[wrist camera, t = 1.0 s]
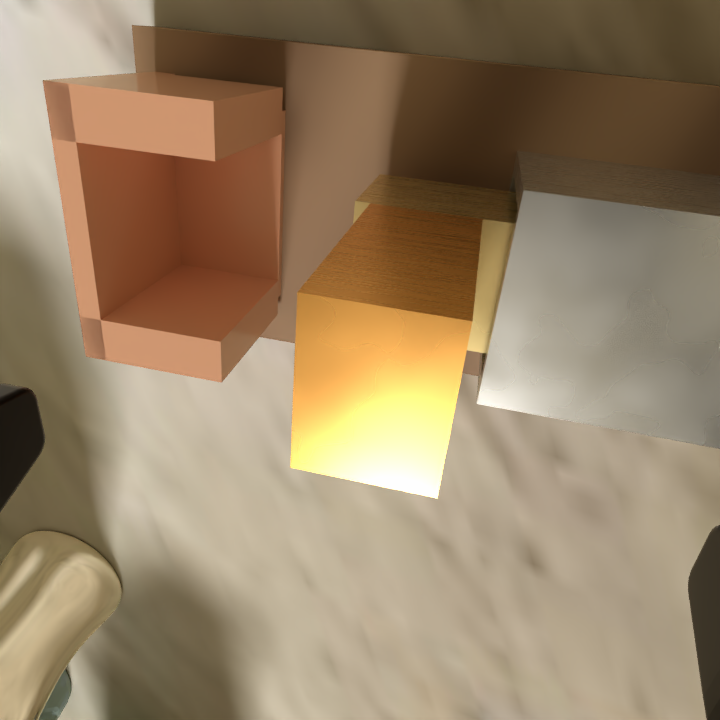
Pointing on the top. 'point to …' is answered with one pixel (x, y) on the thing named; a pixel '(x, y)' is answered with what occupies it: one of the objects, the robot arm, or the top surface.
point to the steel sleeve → (610, 299)
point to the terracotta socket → (171, 215)
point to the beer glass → (48, 615)
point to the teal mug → (57, 698)
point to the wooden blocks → (396, 330)
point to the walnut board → (429, 126)
